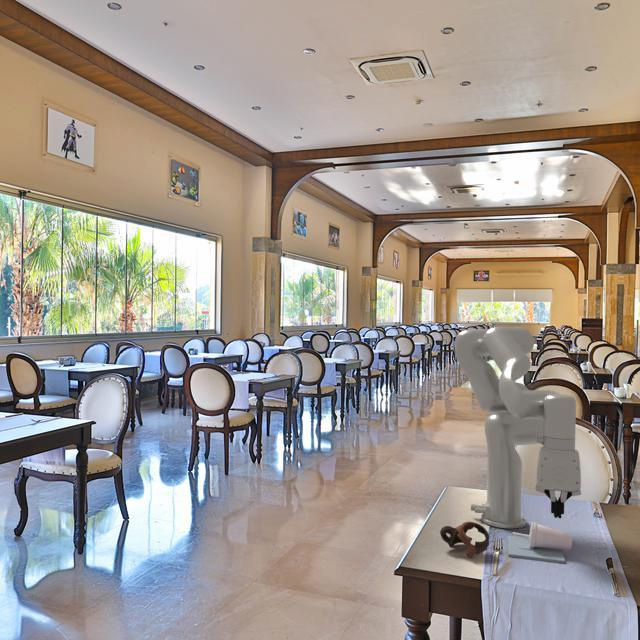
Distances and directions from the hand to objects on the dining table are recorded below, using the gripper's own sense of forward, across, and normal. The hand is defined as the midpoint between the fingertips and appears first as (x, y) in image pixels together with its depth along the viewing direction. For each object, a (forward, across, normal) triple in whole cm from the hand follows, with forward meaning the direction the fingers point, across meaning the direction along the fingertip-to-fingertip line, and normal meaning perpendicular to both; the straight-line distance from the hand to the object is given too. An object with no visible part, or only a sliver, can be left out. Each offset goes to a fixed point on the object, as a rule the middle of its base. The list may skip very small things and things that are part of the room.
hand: (557, 516), depth 153 cm
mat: (+9, -5, 0) cm, 10 cm away
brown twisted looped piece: (+9, -22, -7) cm, 25 cm away
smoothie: (+6, +4, 0) cm, 7 cm away
